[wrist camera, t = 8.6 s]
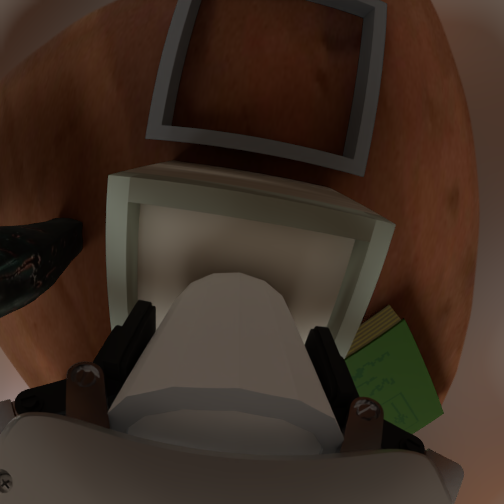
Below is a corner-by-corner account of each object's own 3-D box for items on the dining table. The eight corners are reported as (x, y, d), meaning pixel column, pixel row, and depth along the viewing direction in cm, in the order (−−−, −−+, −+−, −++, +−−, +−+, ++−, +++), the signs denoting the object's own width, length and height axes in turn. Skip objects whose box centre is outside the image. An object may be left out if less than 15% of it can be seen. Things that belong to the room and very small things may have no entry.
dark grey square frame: (351, 173, 20) (363, 177, 18) (156, 139, 19) (145, 138, 17) (374, 14, 15) (387, 3, 13) (196, -22, 14) (192, -36, 12)
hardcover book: (237, 390, 29) (237, 416, 25) (388, 298, 25) (404, 319, 22) (334, 455, 36) (338, 472, 33) (434, 398, 32) (444, 414, 29)
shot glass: (160, 246, 11) (77, 358, 5) (322, 270, 12) (389, 394, 5) (159, 366, 14) (125, 478, 7) (285, 382, 14) (302, 497, 8)
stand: (294, 320, 25) (316, 412, 15) (160, 300, 24) (120, 386, 14) (329, 187, 21) (395, 224, 11) (172, 160, 20) (108, 175, 10)
